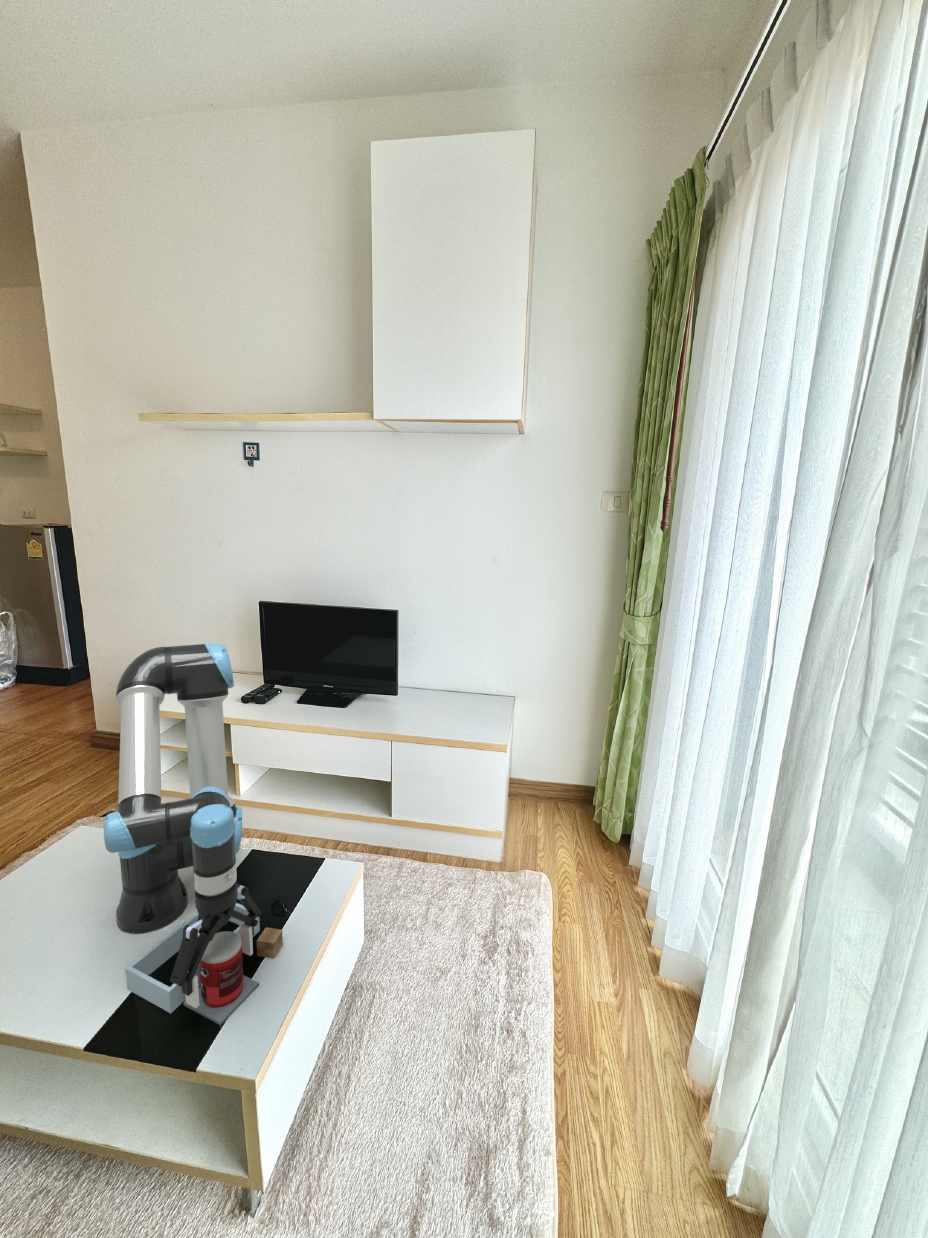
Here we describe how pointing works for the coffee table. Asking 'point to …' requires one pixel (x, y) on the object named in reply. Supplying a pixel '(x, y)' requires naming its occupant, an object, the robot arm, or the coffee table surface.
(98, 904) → the coffee table surface
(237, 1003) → the pad
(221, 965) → the canned food
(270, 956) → the walnut block
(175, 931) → the bin
